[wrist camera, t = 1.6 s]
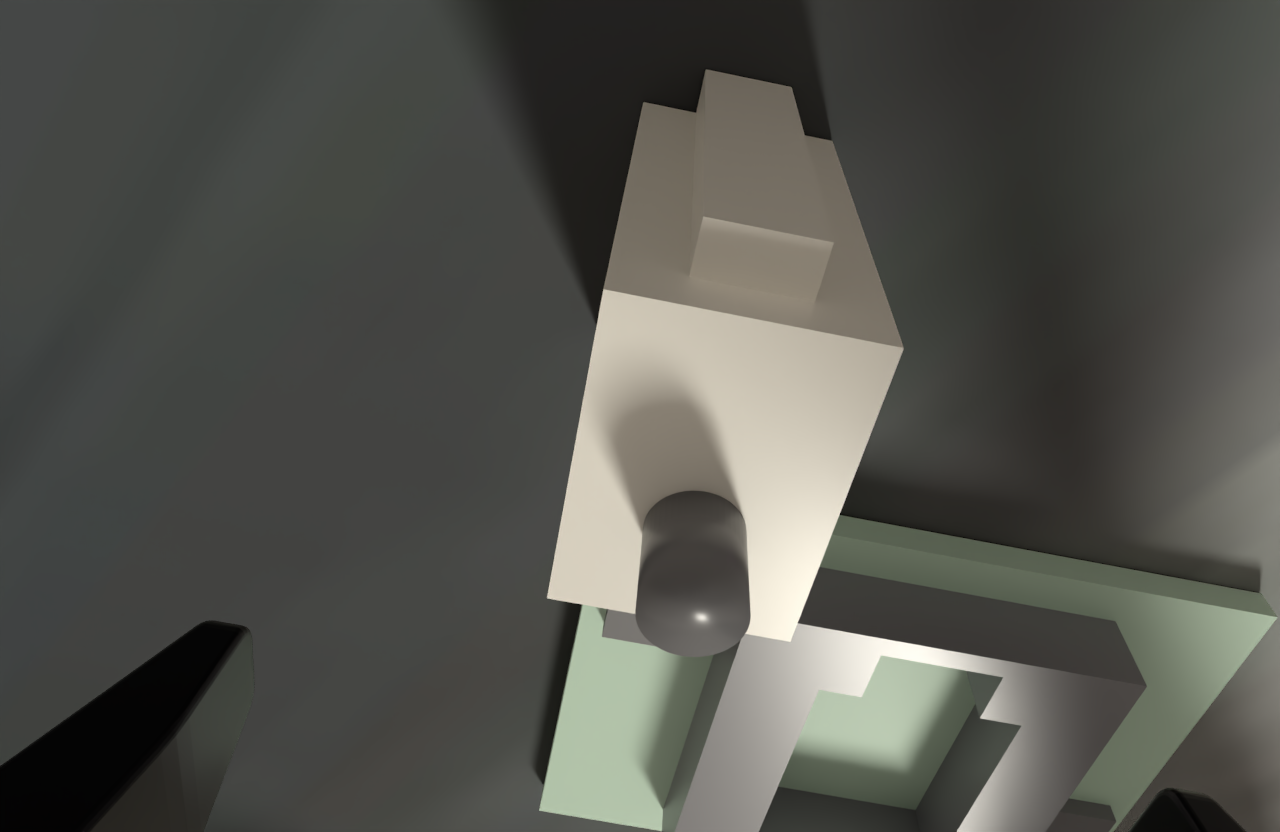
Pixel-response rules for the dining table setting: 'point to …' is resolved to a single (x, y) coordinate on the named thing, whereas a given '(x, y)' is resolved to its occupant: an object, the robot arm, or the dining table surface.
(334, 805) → the dining table surface
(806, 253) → the keyed plug
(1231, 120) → the dining table surface
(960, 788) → the header socket
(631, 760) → the circuit board
